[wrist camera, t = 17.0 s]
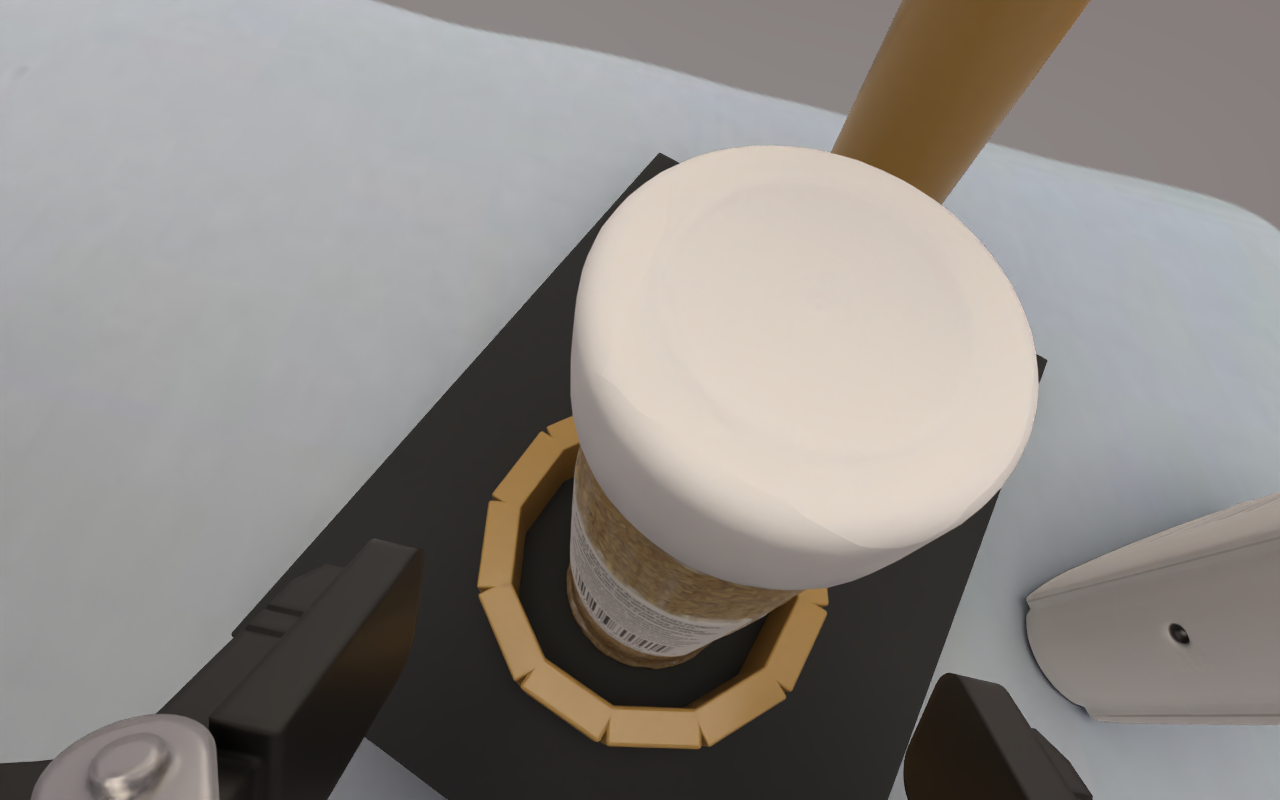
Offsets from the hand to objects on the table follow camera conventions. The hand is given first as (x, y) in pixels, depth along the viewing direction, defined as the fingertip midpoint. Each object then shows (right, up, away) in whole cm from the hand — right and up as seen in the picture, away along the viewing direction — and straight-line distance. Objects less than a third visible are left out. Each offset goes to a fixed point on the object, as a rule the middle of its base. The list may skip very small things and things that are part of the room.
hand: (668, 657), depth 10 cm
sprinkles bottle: (0, -1, +8) cm, 8 cm away
